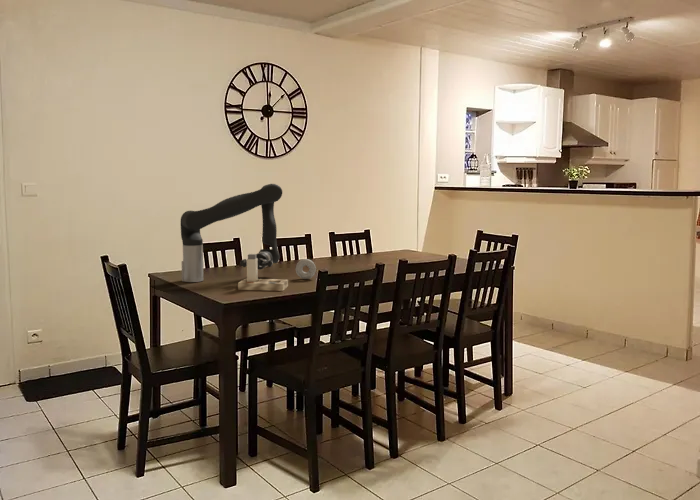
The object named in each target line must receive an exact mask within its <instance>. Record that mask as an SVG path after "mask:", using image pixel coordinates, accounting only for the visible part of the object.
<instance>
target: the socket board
mask: <svg viewBox="0 0 700 500" xmlns="http://www.w3.org/2000/svg"><path fill="white" fill-rule="evenodd" d="M288 287H289V279H282V278H281V279H279V278H278V279H276V278H273V279H272V278H258V282H247V278H244V279H242V280H240V281H239V282H237V290H238V291H279V292H281V291H284V290H286V289H287V288H288Z"/></svg>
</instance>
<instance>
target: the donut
mask: <svg viewBox="0 0 700 500" xmlns="http://www.w3.org/2000/svg"><path fill="white" fill-rule="evenodd" d="M305 266H306V267H307V268H308V271H307V272H306V271H304V270H303V268H304V267H305ZM316 271H317V267H316V264H315V262H314V261H313V260H311V259H308V258H304V259H303V258H302V259H301V260H299V261H298V262H297V263H296V266H295V273H296V275H297V277H299V278H301V279H303V280H309V279H311V278H313V277H314V276H315V274H316Z"/></svg>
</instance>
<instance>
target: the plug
mask: <svg viewBox="0 0 700 500" xmlns="http://www.w3.org/2000/svg"><path fill="white" fill-rule="evenodd" d="M257 254H258V253H249V254H248V255H247V259H246V260H247V266H246V279H247V282H258V279H259V277H258V276H259V275H258V274H259V272H258V271H259V269H258V258H257Z"/></svg>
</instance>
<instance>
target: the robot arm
mask: <svg viewBox="0 0 700 500" xmlns="http://www.w3.org/2000/svg"><path fill="white" fill-rule="evenodd" d="M282 196H283V189H282V187H281V186H280V185H279V184H276V183H270V184H265V185H263V186H262V187H261V188H260V189H258V190H255V191H251V192H246V193H241V194H237V195H233V196H230V197H228V198H226V199H223V200H221V201H219V202H217V203H216V204H214V205H212V206H210V207H208V208H204V209H203V208H202V209H201V210H186V211H185V212H183V213H182V214H181V217H180V236H181V237H180V239H181V240H182V241H181V242H182V261H181V282H186V283H198V282H203V281H204V246H203V245H204V241H203V238H202V235H201V229H204V228H205V227H207V226H210V225H211V224H213V223H216V222H217V223H218V222H220V221H224V220H228V219H231V218H233V217H237V216H240V215H242V214H244V213H247V212H249V211H251V210H253V209H255V208H257V207H260V208H261V215H262V216H261V217H262V236H261V238H262V244H264V245H269V246H270V247H271V248H262V249H260V250H259V251H258V253H256V254H257V258H258V271H259V270H264V269H265V268H267V267H269V268H271V267H272V266H273V264H277V263H278V262H279V261H280V259H281V258H280V252H279V248H278V244H277V243H278V242H277V235H278V234H277V223H276V218H275V213H274V208H275V203H276V202H278V201H280V199H281V198H282ZM239 265H240V267H243V268H245V267H246V268H247V259H246V258H243V259H241V260H240V262H239Z"/></svg>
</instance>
